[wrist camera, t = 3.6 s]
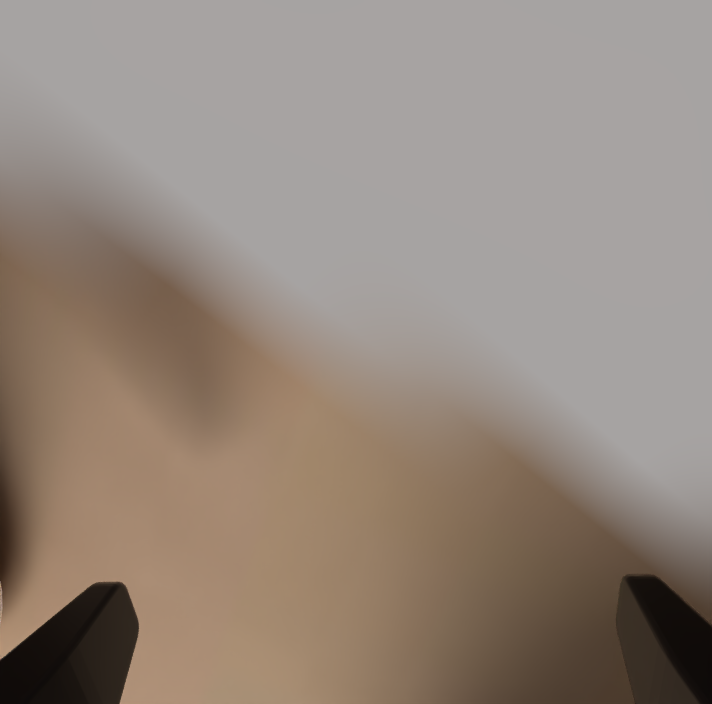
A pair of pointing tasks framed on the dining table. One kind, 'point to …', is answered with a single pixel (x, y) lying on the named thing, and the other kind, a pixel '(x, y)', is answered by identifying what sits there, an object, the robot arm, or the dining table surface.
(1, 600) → the mug
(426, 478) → the dining table surface
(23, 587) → the dining table surface
